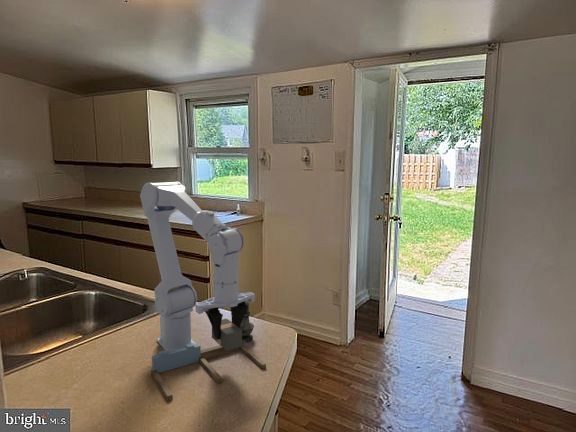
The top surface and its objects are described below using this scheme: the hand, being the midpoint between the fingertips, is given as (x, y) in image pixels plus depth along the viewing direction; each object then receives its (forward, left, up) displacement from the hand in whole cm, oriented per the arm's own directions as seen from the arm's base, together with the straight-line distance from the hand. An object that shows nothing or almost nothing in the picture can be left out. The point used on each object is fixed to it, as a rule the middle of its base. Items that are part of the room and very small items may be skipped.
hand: (226, 335), depth 93 cm
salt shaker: (-12, +11, -9) cm, 18 cm away
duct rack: (-2, -4, -8) cm, 9 cm away
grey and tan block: (0, 0, -2) cm, 2 cm away
